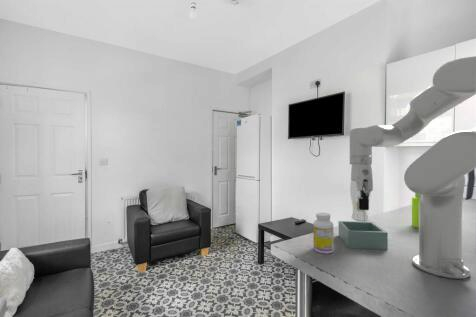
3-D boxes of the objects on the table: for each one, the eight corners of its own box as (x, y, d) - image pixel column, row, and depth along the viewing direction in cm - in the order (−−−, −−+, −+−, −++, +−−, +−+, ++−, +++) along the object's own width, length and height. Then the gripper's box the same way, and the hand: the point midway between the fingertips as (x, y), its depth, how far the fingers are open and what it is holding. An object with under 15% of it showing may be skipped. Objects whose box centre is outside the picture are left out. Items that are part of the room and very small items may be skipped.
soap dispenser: (413, 228, 105) (413, 183, 105) (410, 223, 111) (410, 182, 111) (430, 229, 103) (430, 184, 102) (426, 225, 109) (426, 182, 108)
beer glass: (365, 216, 93) (365, 179, 92) (374, 222, 86) (374, 181, 85) (347, 216, 93) (347, 179, 93) (354, 221, 86) (354, 181, 86)
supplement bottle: (317, 245, 87) (317, 210, 87) (336, 249, 83) (336, 213, 82) (310, 251, 82) (310, 214, 82) (329, 256, 77) (329, 217, 77)
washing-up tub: (387, 249, 82) (387, 232, 82) (348, 247, 84) (348, 231, 84) (372, 236, 95) (372, 222, 95) (338, 235, 97) (338, 221, 97)
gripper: (381, 161, 80) (381, 213, 80) (362, 160, 97) (362, 203, 97) (357, 161, 81) (357, 213, 82) (343, 160, 98) (343, 202, 99)
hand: (360, 207), depth 89 cm, fingers closed on beer glass, 6 cm apart
